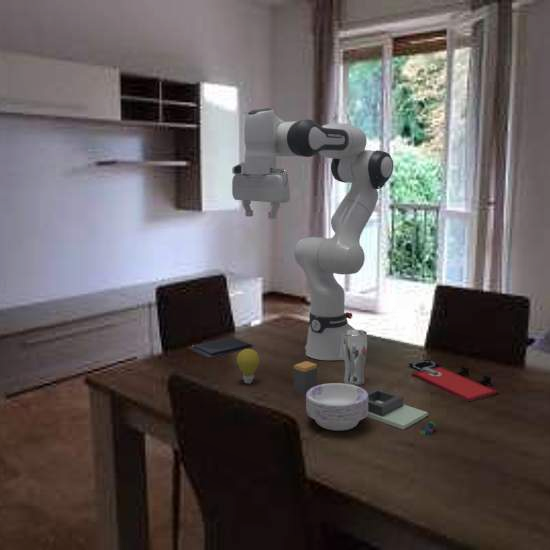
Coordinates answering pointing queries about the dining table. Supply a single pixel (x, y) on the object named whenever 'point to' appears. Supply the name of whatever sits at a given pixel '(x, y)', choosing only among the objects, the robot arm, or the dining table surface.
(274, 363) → the dining table surface
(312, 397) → the paper bowls
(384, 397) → the board
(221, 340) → the wallet
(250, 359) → the light bulb
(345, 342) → the beer glass
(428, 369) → the red board with handle
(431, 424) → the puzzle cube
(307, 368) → the plug
